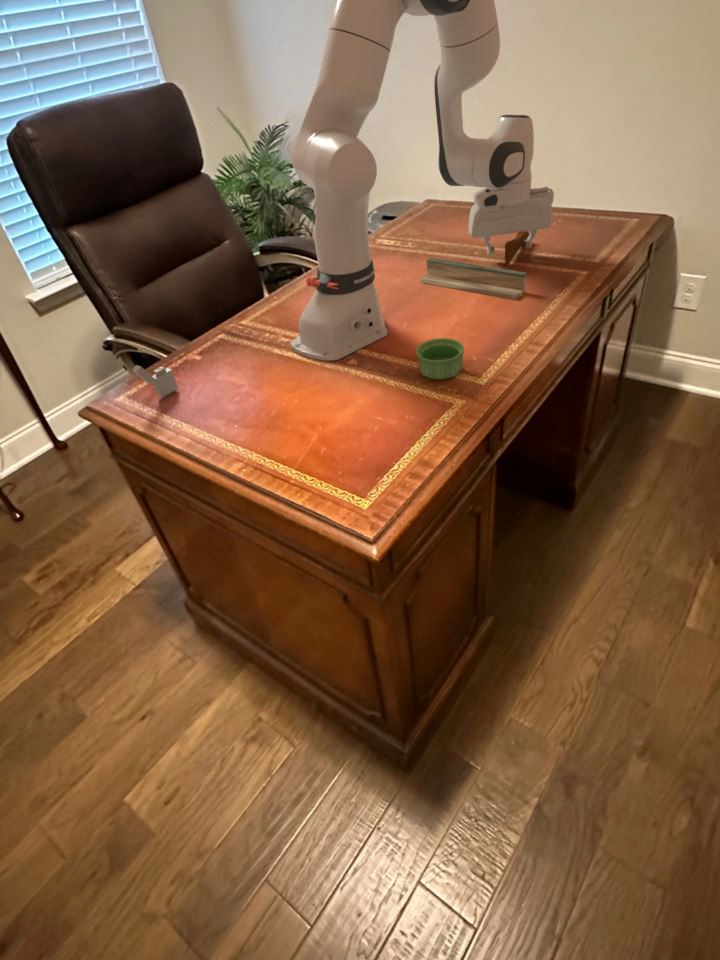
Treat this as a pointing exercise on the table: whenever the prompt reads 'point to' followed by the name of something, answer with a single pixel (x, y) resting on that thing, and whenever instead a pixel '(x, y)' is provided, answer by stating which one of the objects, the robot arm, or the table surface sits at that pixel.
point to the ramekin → (440, 358)
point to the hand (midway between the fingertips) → (508, 250)
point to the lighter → (158, 379)
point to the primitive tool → (514, 246)
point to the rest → (475, 278)
